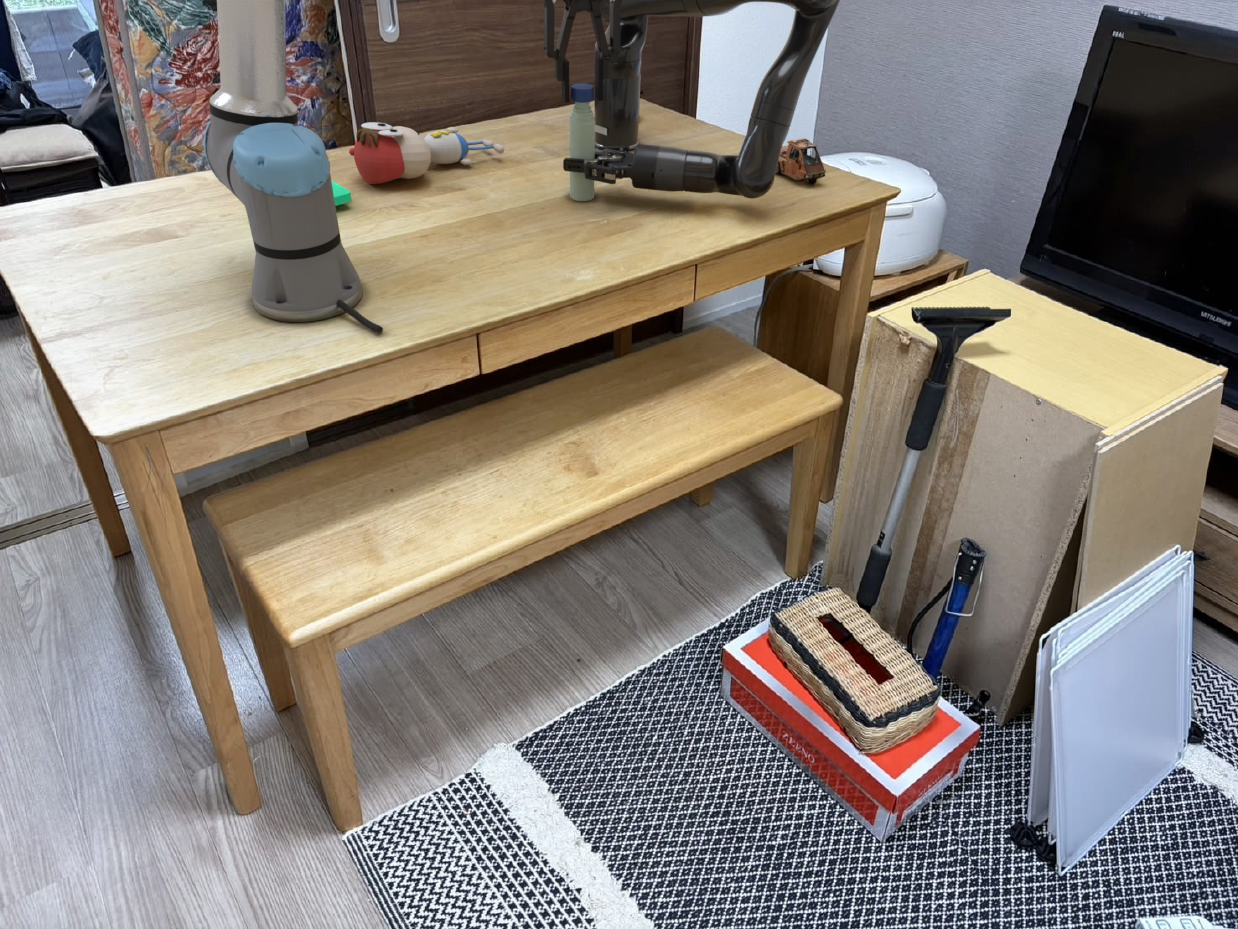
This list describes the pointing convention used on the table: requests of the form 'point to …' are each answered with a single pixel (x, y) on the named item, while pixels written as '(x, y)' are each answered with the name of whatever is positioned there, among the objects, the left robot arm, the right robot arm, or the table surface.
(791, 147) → the toy car
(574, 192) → the bottle
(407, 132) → the toy
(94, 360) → the table surface
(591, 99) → the cap
